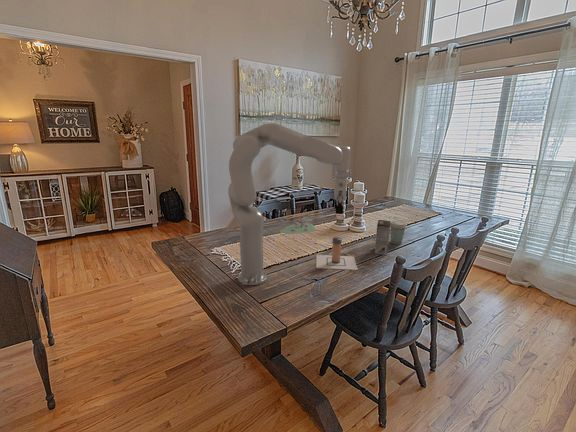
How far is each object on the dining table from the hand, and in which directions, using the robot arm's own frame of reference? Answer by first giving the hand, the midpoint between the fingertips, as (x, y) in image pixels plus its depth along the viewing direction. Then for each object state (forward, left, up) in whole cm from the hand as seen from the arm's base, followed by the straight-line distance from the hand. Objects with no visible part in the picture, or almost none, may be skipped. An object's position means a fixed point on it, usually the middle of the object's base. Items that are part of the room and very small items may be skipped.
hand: (338, 211), depth 141 cm
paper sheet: (0, 0, -26) cm, 26 cm away
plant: (+49, +22, -27) cm, 60 cm away
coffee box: (+17, -25, -26) cm, 40 cm away
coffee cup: (+31, -36, -26) cm, 54 cm away
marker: (0, 0, -26) cm, 26 cm away
